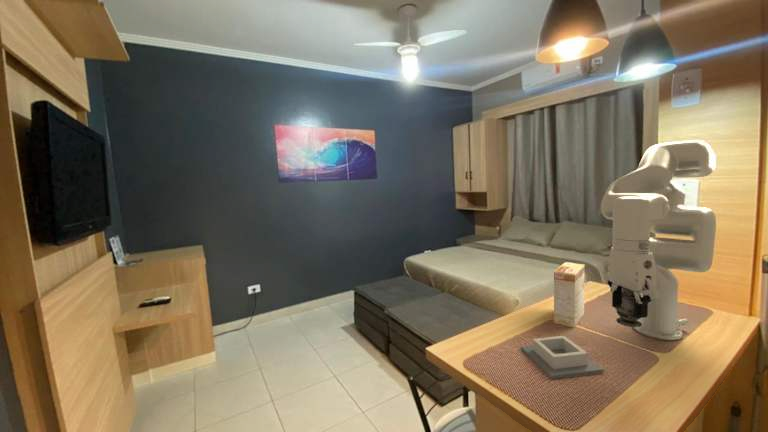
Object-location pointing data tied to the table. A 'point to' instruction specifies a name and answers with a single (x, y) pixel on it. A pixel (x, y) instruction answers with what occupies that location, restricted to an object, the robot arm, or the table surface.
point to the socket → (560, 358)
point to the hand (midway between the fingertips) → (629, 311)
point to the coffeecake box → (569, 294)
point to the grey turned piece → (627, 309)
